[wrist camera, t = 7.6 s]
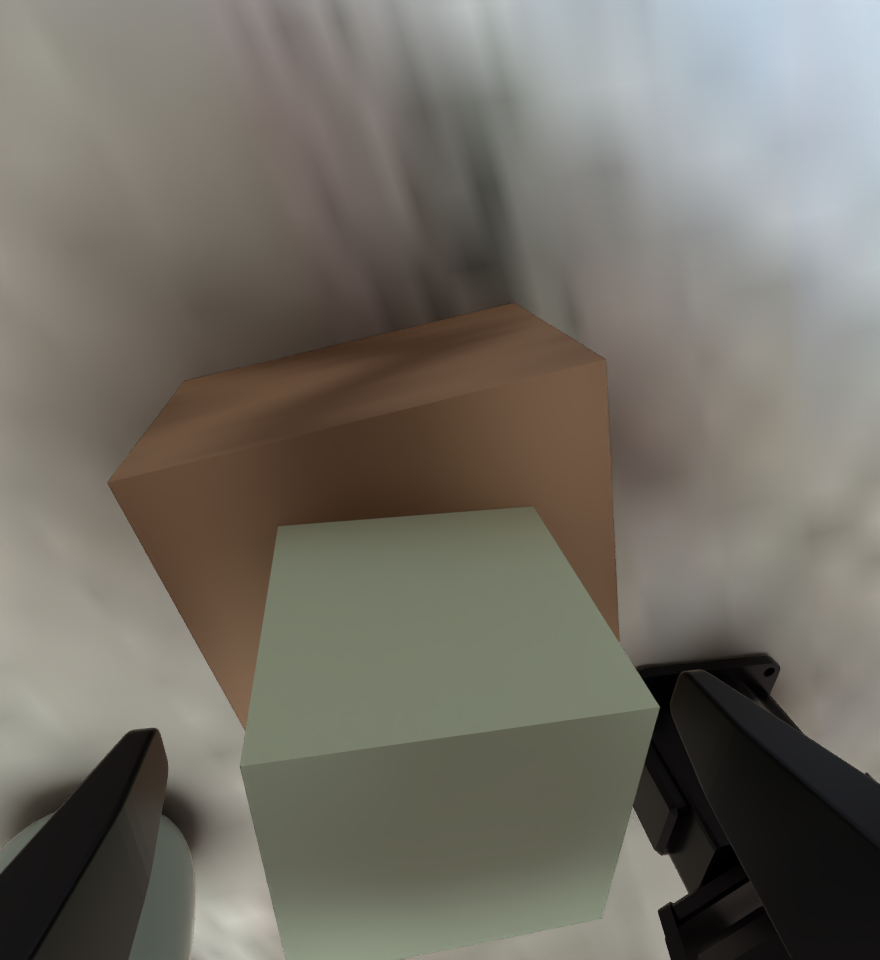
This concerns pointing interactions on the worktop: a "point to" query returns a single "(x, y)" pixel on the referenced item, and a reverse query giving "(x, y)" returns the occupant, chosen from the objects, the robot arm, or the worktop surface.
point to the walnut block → (369, 461)
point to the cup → (150, 893)
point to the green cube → (437, 736)
